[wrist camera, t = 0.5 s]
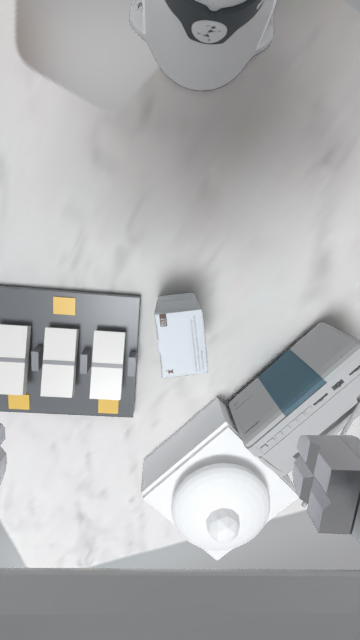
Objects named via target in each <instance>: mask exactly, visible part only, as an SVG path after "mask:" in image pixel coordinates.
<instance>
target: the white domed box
mask: <svg viewBox="0 0 360 640" xmlns="http://www.w3.org/2000/svg"><path fill="white" fill-rule="evenodd" d="M141 494H142V495H143V499H144V500H145V501H146V502H147V503H149V504H150V505H151V506H152V507H153V508H155V509H156V510H157V511H158V512H159V513H161V514H162V515H163V516H164V517H165V518H167V519H168V520H169V521H170V522H171V523H173V524H174V525H175V527H176V528H177V530H178V532H179V533H180V534H181V535H182V536H183V537H184V538H185V539H186V540H187V541H189V542H190V543H192V544H194V545H196V546H198V547H201V548H202V549H204V550H205V551H206V552H208V554H210V555H211V556H212V557H213V558H215V559H216V560H219V559H220V558H221V557H223V556H224V555H225V554H226V553H228V552H229V551H230V550H232V549H233V548H236V547H239V546H241V545H242V544H245V543H246V542H248V541H250V540H251V539H253V538H254V537H255V536H256V535H257V534H258V533H259V532H260V530H261V529H262V528H263V527H264V525H265V523H266V522H268V521H269V520H270V519H272V518H273V517H274V516H276V515H277V514H278V513H279V512H281V511H282V510H283V509H285V508H286V507H287V506H288V505H290V504H291V503H292V502H294V501H295V500H296V499H297V498H299V496H298V494H297V492H296V490H295V487H294V485H293V483H292V482H291V480H290V478H289V476H288V474H287V475H286V476H279V475H278V474H276V473H275V472H274V471H272V470H271V469H270V468H269V467H267V466H266V465H265V464H263V463H262V462H261V461H260V460H259V458H258V457H255V456H254V455H253V454H252V453H251V452H250V451H249V450H248V449H246V448H245V446H244V444H243V441H242V439H241V436H240V434H239V431H238V429H237V426H236V424H235V421H234V419H233V416H232V413H231V411H230V409H229V408H228V407H227V406H226V405H225V404H224V403H223V402H222V401H221V400H220V399H219V398H218V397H216V398H215V399H213V400H212V401H211V402H210V403H209V404H208V405H206V406H205V407H204V408H203V409H202V410H201V411H199V412H198V413H197V414H196V415H195V416H194V417H192V418H191V419H190V420H189V421H188V422H187V423H185V424H184V425H183V426H182V427H181V428H180V429H178V430H177V431H176V432H175V433H174V434H173V435H171V436H170V437H169V438H168V439H167V440H166V441H164V442H163V443H162V444H161V445H160V446H159V447H157V448H156V449H155V450H154V451H153V452H152V453H150V454H149V455H148V456H147V457H146V458H145V459H144V461H143V471H142V484H141Z"/></svg>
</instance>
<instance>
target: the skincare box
mask: <svg viewBox="0 0 360 640" xmlns="http://www.w3.org/2000/svg"><path fill="white" fill-rule="evenodd" d="M154 317H155V323H156V330H157V338H158V351H159V353H160V361H161V374H162V378H163V379H165V378H172V377H180V376H187V375H194V374H202V373H208V361H207V348H206V338H205V328H204V319H203V311H202V309H201V307H200V305H199V302H198V300H197V298H196V296H195V294H194V293H193V292H191V293H182V294H174V295H165V296H158V300H157V305H156V309H155V314H154Z"/></svg>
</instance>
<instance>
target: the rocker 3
mask: <svg viewBox="0 0 360 640" xmlns="http://www.w3.org/2000/svg"><path fill="white" fill-rule="evenodd" d="M125 338H126V332H114V331H99V330H95V331H94V340H93V354H92V368H91V383H90V397H89V399H105V400H121V395H122V381H123V367H124V352H125Z"/></svg>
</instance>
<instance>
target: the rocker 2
mask: <svg viewBox="0 0 360 640" xmlns="http://www.w3.org/2000/svg"><path fill="white" fill-rule="evenodd" d="M78 336H79V329H68V328H53V327H45V337H44V351H43V363H42V364H43V365H42V380H41V394H40V396H45V397H65V398H72V397H73V396H74V393H75V379H76V364H77V350H78Z"/></svg>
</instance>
